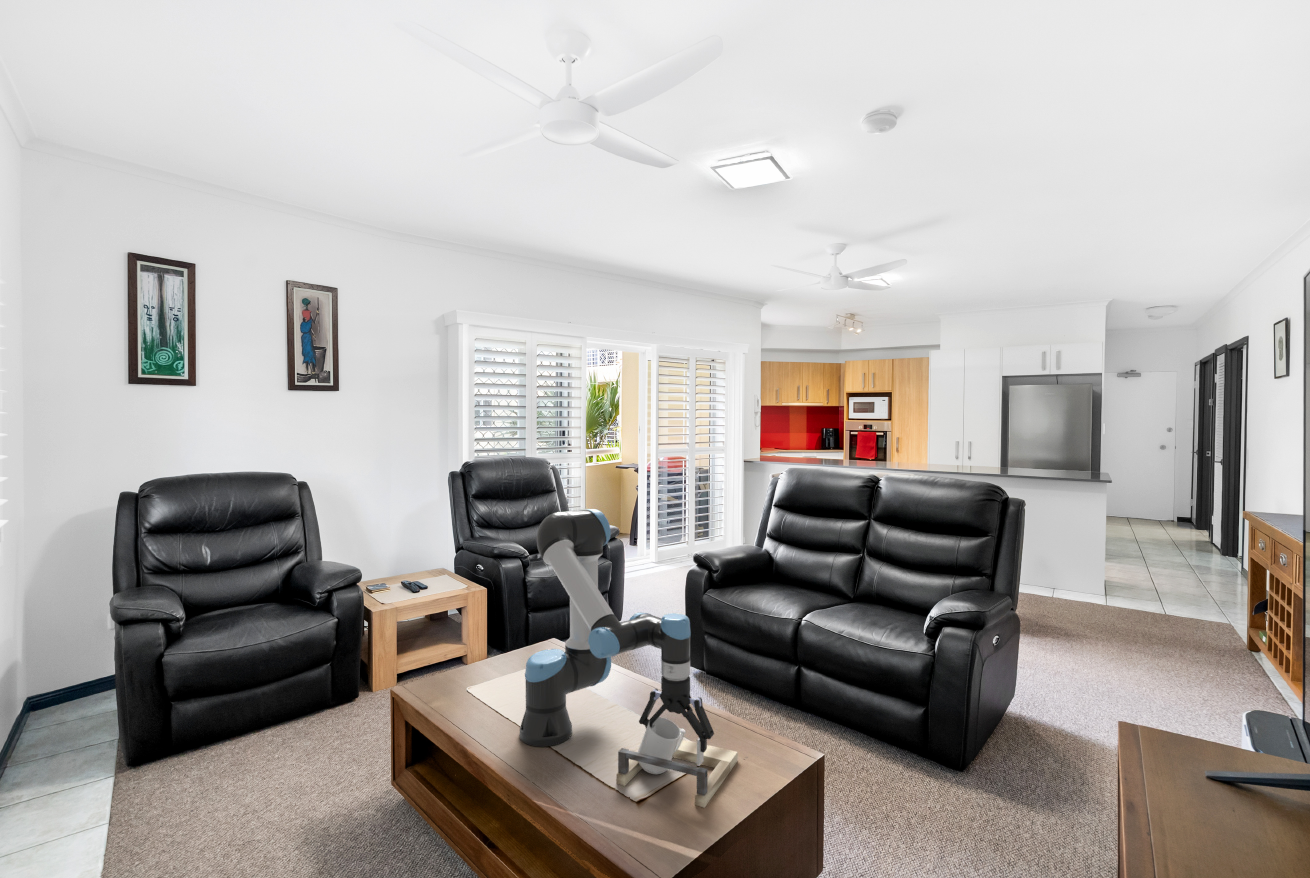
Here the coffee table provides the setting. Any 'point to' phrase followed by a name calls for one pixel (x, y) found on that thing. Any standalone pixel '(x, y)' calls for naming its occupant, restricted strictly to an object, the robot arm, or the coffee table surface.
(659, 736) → the mug
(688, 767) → the beige and grey frame
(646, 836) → the coffee table surface
